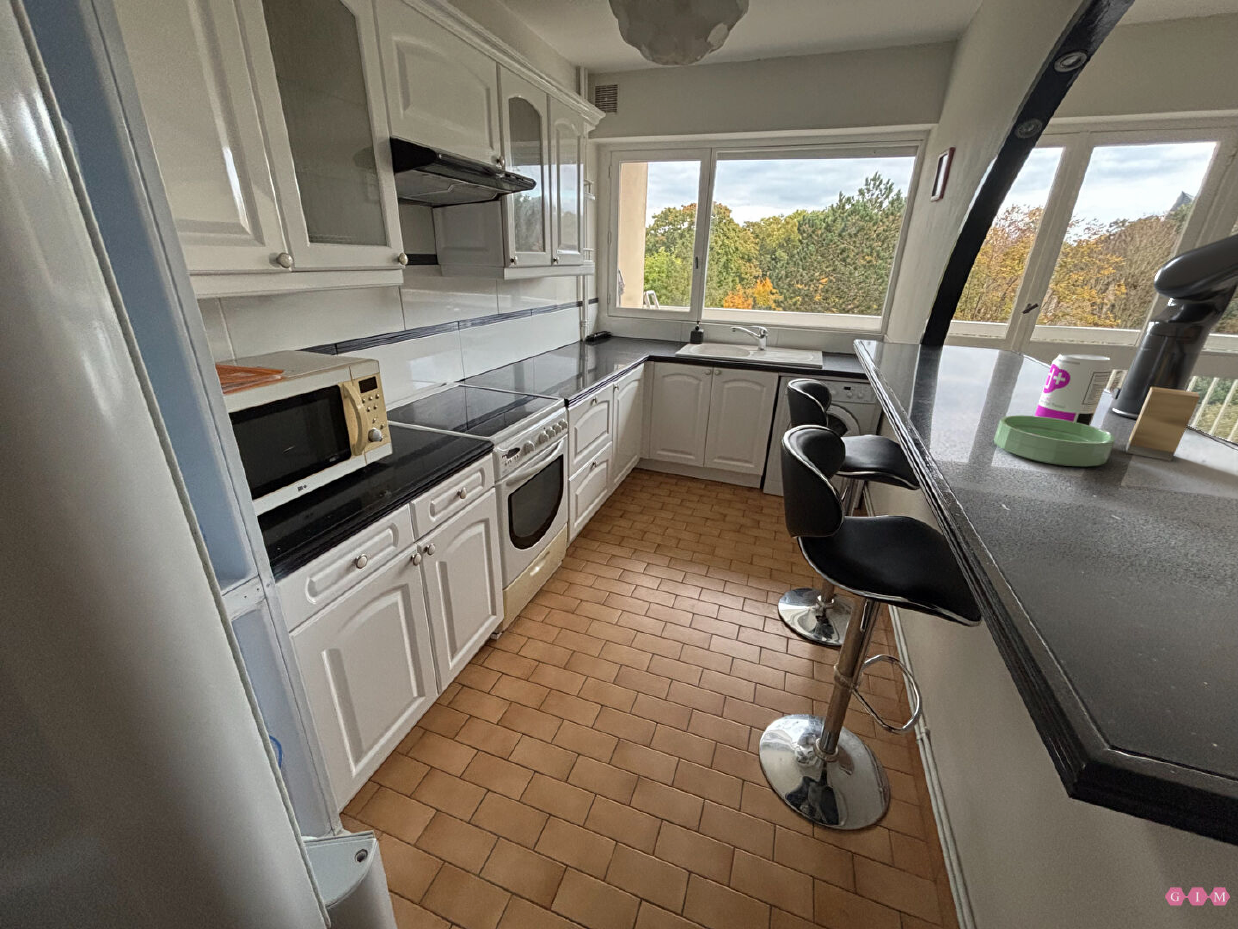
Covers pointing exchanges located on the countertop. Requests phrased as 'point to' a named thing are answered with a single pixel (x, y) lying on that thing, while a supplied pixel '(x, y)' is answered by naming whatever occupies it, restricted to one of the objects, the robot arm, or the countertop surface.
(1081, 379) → the supplement can
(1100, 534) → the countertop surface
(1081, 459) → the bowl
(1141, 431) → the light brown wooden block
